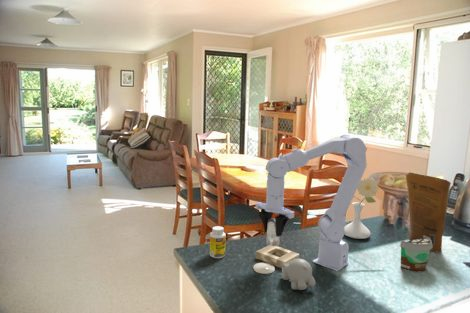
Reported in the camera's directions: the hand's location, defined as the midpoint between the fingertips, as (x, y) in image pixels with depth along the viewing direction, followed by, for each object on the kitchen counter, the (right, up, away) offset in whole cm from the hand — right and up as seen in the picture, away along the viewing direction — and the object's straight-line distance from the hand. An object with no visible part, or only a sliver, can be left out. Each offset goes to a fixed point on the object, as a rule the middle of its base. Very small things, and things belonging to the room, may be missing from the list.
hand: (273, 233), depth 123 cm
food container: (+49, -12, 0) cm, 50 cm away
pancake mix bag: (+61, -9, +21) cm, 65 cm away
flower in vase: (+38, -7, +28) cm, 48 cm away
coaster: (-3, -11, -3) cm, 12 cm away
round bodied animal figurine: (+5, -13, -12) cm, 19 cm away
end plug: (0, -3, +1) cm, 3 cm away
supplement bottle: (-19, -9, +7) cm, 22 cm away
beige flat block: (+2, -10, +5) cm, 11 cm away
